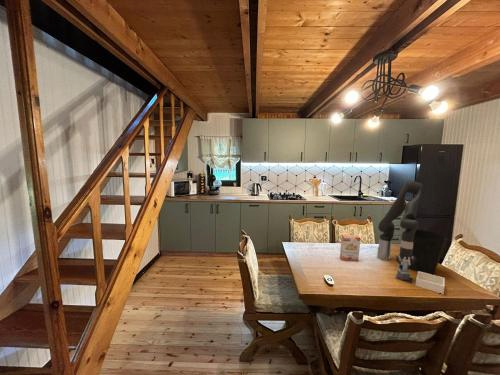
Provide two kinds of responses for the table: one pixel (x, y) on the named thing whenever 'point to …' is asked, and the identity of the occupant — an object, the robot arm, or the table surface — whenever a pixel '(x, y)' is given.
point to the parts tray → (430, 282)
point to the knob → (404, 271)
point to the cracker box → (350, 247)
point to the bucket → (427, 250)
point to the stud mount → (404, 280)
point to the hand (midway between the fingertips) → (404, 269)
